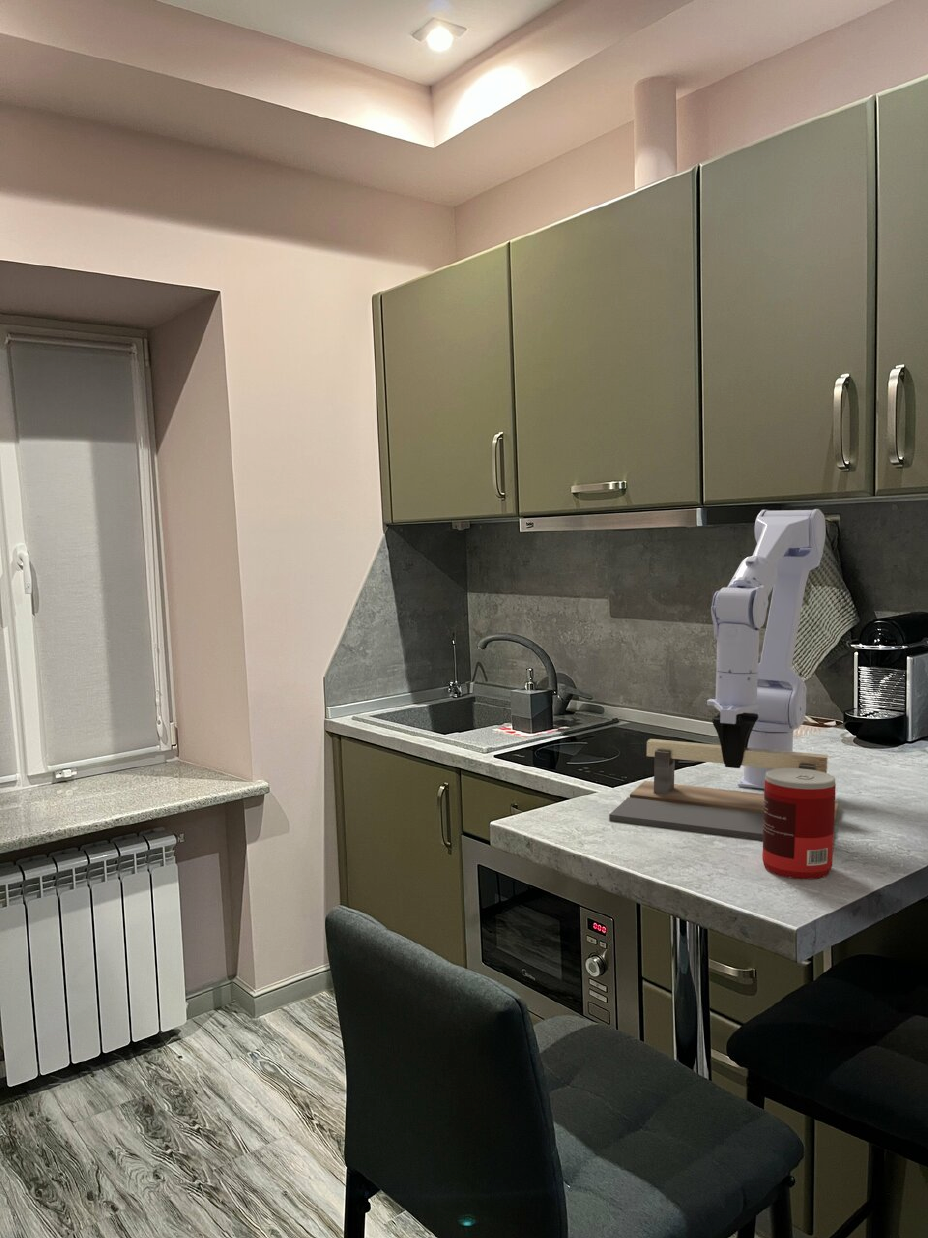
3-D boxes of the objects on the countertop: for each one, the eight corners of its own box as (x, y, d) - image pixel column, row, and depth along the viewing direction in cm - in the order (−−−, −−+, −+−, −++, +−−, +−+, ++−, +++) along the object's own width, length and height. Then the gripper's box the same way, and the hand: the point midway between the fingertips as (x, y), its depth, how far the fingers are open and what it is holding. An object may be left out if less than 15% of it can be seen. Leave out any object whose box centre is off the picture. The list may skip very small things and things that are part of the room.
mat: (627, 802, 139) (628, 797, 139) (834, 827, 127) (834, 821, 127) (609, 820, 130) (609, 814, 130) (829, 848, 118) (829, 842, 118)
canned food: (837, 865, 112) (841, 772, 112) (825, 885, 106) (828, 787, 105) (770, 853, 116) (773, 764, 115) (754, 872, 109) (757, 778, 109)
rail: (649, 753, 144) (650, 738, 144) (827, 770, 134) (828, 755, 133) (646, 756, 142) (646, 741, 142) (826, 773, 132) (826, 758, 131)
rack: (644, 787, 148) (645, 741, 147) (838, 809, 136) (840, 759, 136) (629, 801, 140) (630, 752, 139) (834, 825, 128) (836, 772, 128)
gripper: (717, 664, 145) (714, 752, 146) (699, 675, 132) (696, 773, 133) (765, 666, 142) (762, 757, 143) (752, 679, 129) (749, 778, 130)
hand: (734, 765), depth 138 cm, fingers closed on rail, 2 cm apart
